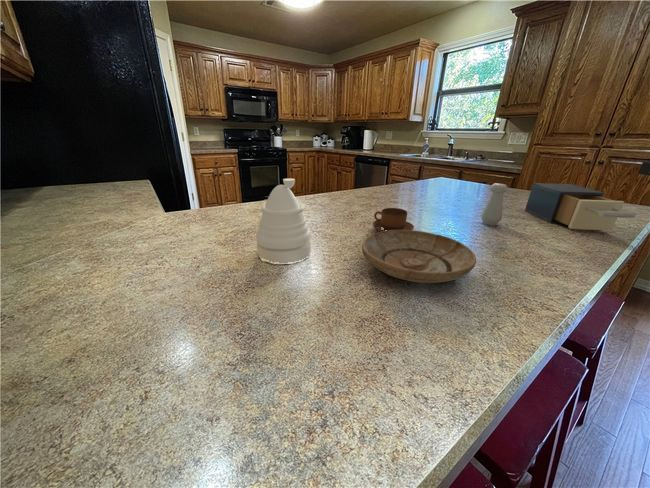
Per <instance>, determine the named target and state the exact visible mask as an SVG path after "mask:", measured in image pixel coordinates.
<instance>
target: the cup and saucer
mask: <svg viewBox="0 0 650 488" xmlns="http://www.w3.org/2000/svg"><path fill="white" fill-rule="evenodd" d="M378 214H379V215H381V217H380V218H378V217H377V215H378ZM373 218H374V221H373V222H372V227H373V228H374V229H375V230H376V231H378V232H382V231H385V230H387V231H388V230H414V228H415V226H414V225H413V224H412V223H411V222H409V221H407V219H408V211H407V210H405V209H404V208H398V207H386V208H383V209H382V210H381V211H379V210H378V211H376V212H374V215H373ZM381 227H383V228H384V230H381Z"/></svg>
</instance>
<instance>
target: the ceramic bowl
mask: <svg viewBox="0 0 650 488" xmlns="http://www.w3.org/2000/svg"><path fill="white" fill-rule="evenodd" d="M361 252H362V255H363V256H364V257H365V259H366V260H367V261H368V263H369V264H370V265H372V266H373V267H374V268H376V269H377V270H378V271H381V272H382V273H384V274H386V275H388V276H390V277H393V278H396V279H399V280H404V281H408V282H413V283H421V284H434V283H435V284H438V283H440V284H441V283H444V282H450V281H454V280H457V279H460V278H462V277H464V276H465V275H468V274H469V273H470V272H471V271H472V270H473V269H474V268H475V266H476V262H477V257H476V254H475V252H473V250H472V249H471V248H470V247H468V246H466V245H465V244H464V243H463V242H460V241H458V240H455V239H453V238H450V237H448V236H445V235H441V234H437V233H433V232H427V231H423V230H422V231H421V230H414V229H413V230H388V231H382V232H380V231H378V232H375V233H371V234H370V235H368V236H366V238H365V239H363V241H362V243H361Z"/></svg>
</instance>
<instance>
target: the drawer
mask: <svg viewBox="0 0 650 488" xmlns="http://www.w3.org/2000/svg"><path fill="white" fill-rule="evenodd" d="M624 205H625V201H623V200H614V199H610V198H608V197H607V198H606V197H603V196H602V197H600V196H596V195H580V194H563V195H562V197H561V200H560V203H559V206H558V208H557V211H556V214H555V217H554V219H555V220H557V221H559V222H562V223H561V224H564V225H566V226H568V228H569V229H571V230H590V231H591V230H593V231H613V228H614V226H615V224H616V222H617V220H618V218H625V219H627V218H628V219H629V218H630V219H632V218H635V217H636V215H637V213H636V212H635V211H625V210H622V209H623V207H624Z"/></svg>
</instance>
